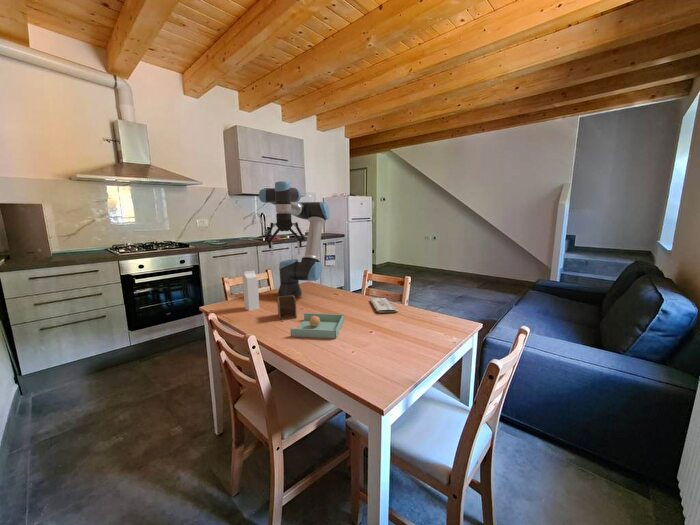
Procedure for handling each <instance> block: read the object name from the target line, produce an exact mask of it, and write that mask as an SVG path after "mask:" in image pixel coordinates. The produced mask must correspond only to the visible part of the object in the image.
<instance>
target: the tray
mask: <svg viewBox="0 0 700 525" xmlns="http://www.w3.org/2000/svg"><path fill="white" fill-rule="evenodd" d="M312 316H317V317H319V319H320V323H319V325H318V326H316V327H313V326H311V325H310V323H309V320H310V318H311V317H312ZM344 316H345V315H344V314H337V313H314V312H313V313H310V312H308V313H307V312H304V313H303V321H302V322H301V323H300V324H299V325H298V327H297V328H290V331H289V332H290V337H291V338H311V339H312V338H314V339H331V340H332V339H334V340H336V339H337V338H338V335H339V333H340V331H341V329H342V327H343V324H344V322H345V320H344V318H345V317H344Z"/></svg>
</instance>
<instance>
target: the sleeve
mask: <svg viewBox="0 0 700 525" xmlns="http://www.w3.org/2000/svg"><path fill="white" fill-rule="evenodd" d="M276 298H277V313H278V314H277V315H278V319H279V321H283V320H284V321H285V320H294V319H298V317H297V316H298V315H297V313H298V312H297V299H296V297H294V295H290V296H277V297H276ZM287 314H290V315H291V314H294V316H293V315H291V316H284V317H283V316H282V317H281V315H287Z"/></svg>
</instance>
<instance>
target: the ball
mask: <svg viewBox="0 0 700 525" xmlns="http://www.w3.org/2000/svg"><path fill="white" fill-rule="evenodd" d="M309 323H310V325H311V326H313V327H316V326H318V325H319V323H320V319H319V317H317V316H312V317H311V318H310V320H309Z"/></svg>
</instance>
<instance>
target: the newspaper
mask: <svg viewBox="0 0 700 525" xmlns="http://www.w3.org/2000/svg"><path fill="white" fill-rule="evenodd" d="M369 300H370V303H371V304H372V306H373V307H374V309H375V311H376V312H377V313H378V314H379V313H381V314H383V313H396V312H400V311H399V310H398V308H397V307H396V306H394V305H393V304H392V303H391V302H390V301H389V300H388V299H387V298H386V297H373V298H369ZM391 304H392V305H393V306H392V305H391Z"/></svg>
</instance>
